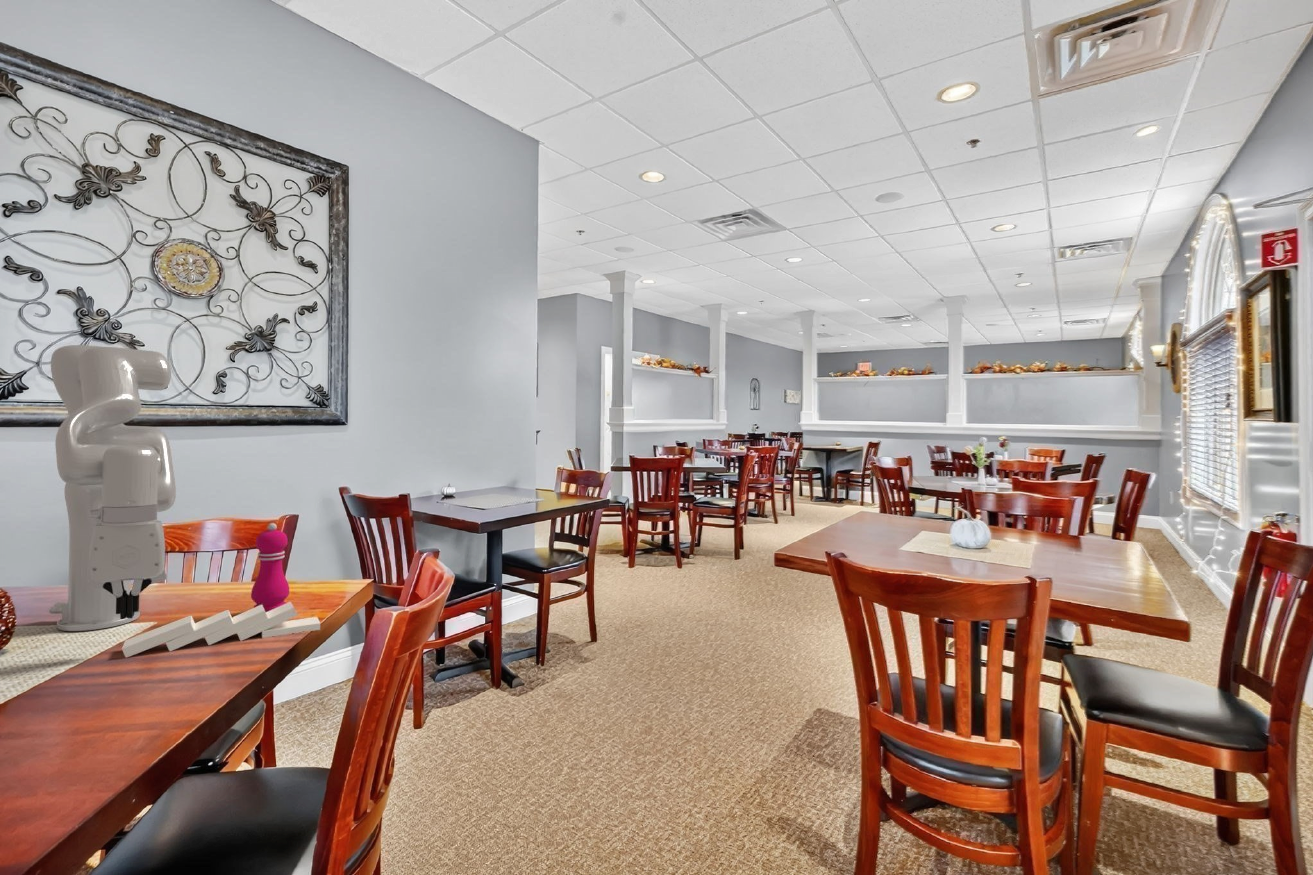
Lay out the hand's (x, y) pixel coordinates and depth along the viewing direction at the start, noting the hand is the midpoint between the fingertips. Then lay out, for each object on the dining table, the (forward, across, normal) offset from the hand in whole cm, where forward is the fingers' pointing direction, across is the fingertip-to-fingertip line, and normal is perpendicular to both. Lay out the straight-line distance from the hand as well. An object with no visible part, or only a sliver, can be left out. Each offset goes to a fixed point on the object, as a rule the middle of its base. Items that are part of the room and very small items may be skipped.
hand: (127, 616), depth 108 cm
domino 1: (+6, +6, 0) cm, 8 cm away
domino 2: (+6, +12, 0) cm, 13 cm away
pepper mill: (+7, +22, +16) cm, 28 cm away
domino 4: (+6, +20, 0) cm, 21 cm away
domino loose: (+6, 0, 0) cm, 6 cm away
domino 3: (+6, +16, 0) cm, 17 cm away
